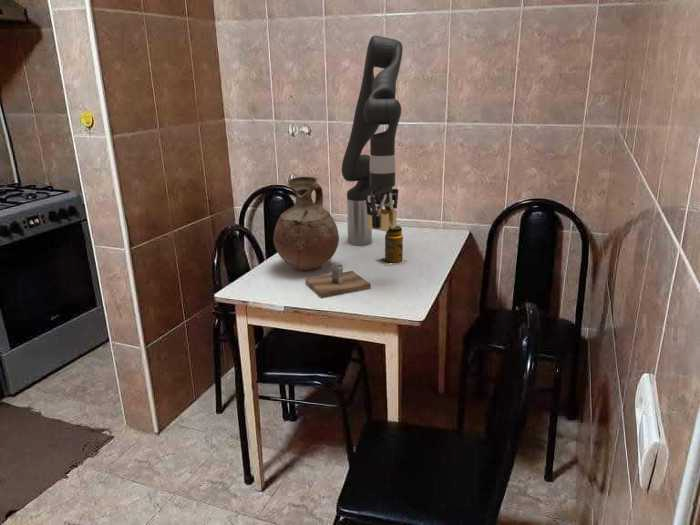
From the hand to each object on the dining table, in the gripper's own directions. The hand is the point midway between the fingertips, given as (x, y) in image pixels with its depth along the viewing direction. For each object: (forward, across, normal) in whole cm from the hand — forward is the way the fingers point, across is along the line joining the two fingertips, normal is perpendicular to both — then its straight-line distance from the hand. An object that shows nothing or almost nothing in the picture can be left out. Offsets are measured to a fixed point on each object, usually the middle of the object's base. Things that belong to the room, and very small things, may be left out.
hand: (382, 225), depth 161 cm
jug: (+18, -4, +28) cm, 33 cm away
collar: (+1, 0, 0) cm, 1 cm away
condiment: (+18, +17, +8) cm, 26 cm away
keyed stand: (+18, -12, +8) cm, 23 cm away
